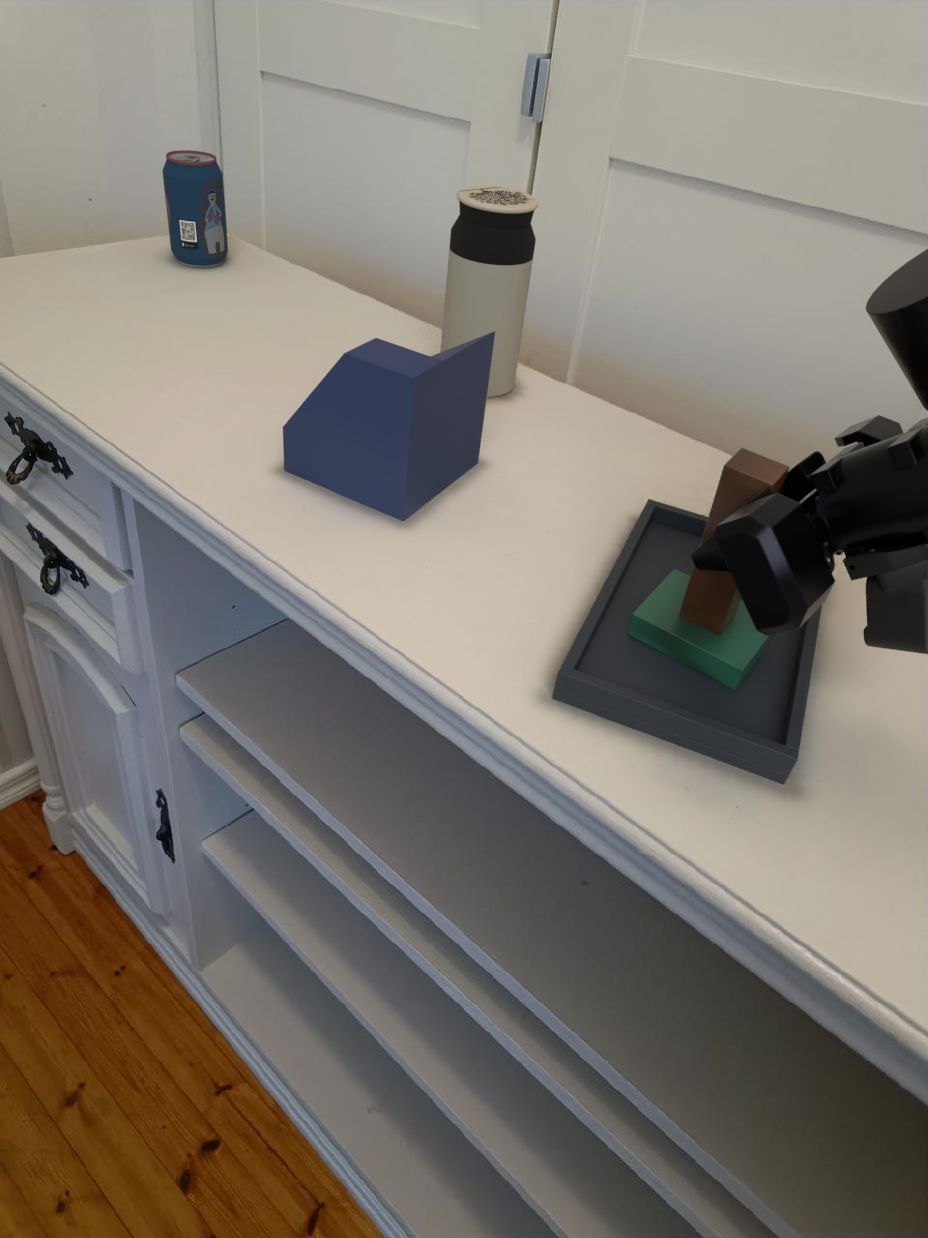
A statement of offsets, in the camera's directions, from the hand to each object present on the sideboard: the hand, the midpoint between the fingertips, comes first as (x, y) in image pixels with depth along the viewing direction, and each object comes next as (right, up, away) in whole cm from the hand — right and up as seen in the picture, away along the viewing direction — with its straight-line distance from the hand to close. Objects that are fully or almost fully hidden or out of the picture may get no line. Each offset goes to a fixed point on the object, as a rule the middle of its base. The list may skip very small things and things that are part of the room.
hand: (705, 552), depth 54 cm
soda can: (-49, +41, +55) cm, 84 cm away
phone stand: (-22, +9, +20) cm, 31 cm away
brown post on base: (+1, -5, +4) cm, 7 cm away
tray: (+1, -5, +7) cm, 8 cm away
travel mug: (-14, +20, +35) cm, 43 cm away
